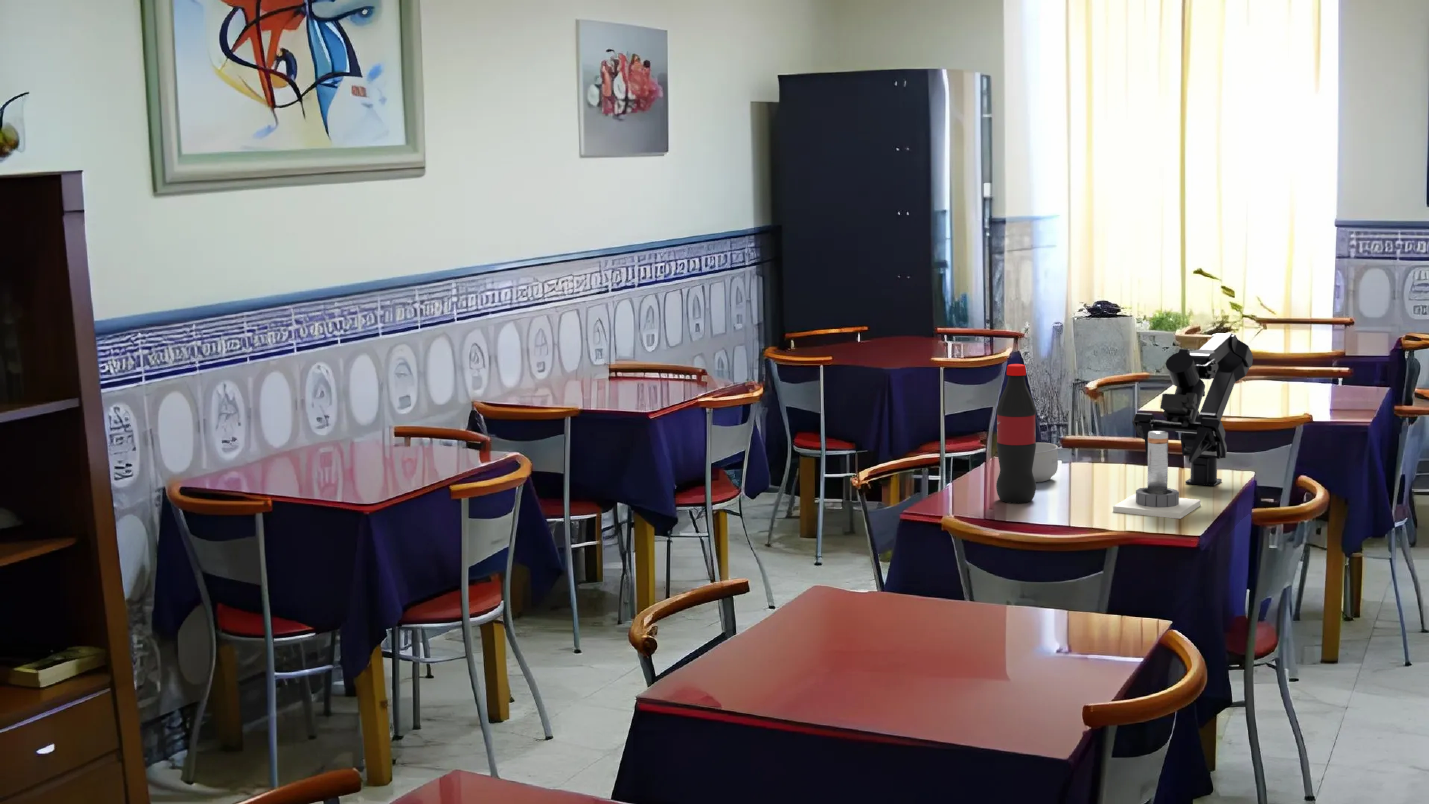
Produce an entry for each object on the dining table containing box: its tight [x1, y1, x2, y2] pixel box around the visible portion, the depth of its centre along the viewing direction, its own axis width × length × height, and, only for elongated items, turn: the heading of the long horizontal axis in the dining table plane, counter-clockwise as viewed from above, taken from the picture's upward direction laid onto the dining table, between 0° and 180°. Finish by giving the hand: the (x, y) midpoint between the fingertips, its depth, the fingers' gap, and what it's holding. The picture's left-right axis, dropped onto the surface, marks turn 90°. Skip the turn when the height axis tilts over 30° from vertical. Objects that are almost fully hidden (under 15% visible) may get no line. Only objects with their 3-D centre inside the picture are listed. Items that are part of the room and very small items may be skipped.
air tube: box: [1147, 430, 1169, 494], centre depth 304 cm, size 4×4×15 cm
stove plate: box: [1112, 486, 1202, 520], centre depth 305 cm, size 14×14×4 cm
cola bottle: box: [995, 363, 1037, 504], centre depth 315 cm, size 8×8×30 cm
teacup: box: [1032, 442, 1059, 483], centre depth 339 cm, size 14×11×8 cm
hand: (1168, 459), depth 310 cm, fingers open, 9 cm apart
